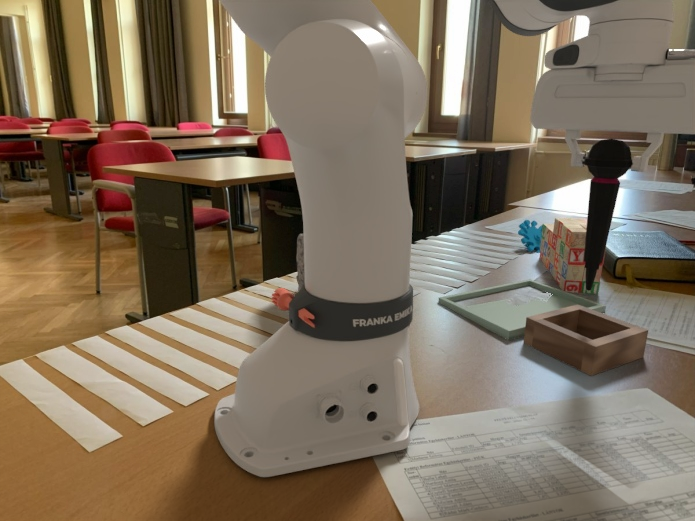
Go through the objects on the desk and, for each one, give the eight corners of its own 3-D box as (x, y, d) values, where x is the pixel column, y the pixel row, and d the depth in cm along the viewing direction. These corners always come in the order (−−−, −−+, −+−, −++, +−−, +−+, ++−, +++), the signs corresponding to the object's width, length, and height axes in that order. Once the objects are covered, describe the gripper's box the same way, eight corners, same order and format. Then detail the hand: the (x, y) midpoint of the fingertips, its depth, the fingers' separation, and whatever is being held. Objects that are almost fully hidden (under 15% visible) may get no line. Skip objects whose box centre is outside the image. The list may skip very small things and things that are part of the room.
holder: (591, 375, 65) (595, 346, 64) (523, 343, 74) (526, 317, 73) (643, 357, 70) (648, 330, 69) (574, 328, 79) (577, 304, 78)
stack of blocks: (537, 263, 115) (544, 209, 111) (567, 265, 114) (574, 210, 111) (562, 296, 94) (571, 230, 91) (598, 297, 94) (609, 231, 90)
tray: (508, 341, 75) (509, 331, 74) (438, 306, 88) (438, 297, 88) (604, 314, 85) (606, 305, 85) (528, 287, 99) (529, 279, 98)
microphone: (619, 291, 69) (646, 139, 64) (595, 299, 66) (620, 140, 61) (582, 280, 74) (604, 137, 68) (557, 287, 71) (578, 137, 65)
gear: (536, 257, 116) (514, 220, 119) (518, 269, 120) (498, 233, 124) (566, 250, 122) (544, 215, 125) (548, 262, 126) (528, 228, 130)
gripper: (734, 49, 58) (708, 174, 61) (549, 58, 70) (537, 161, 74) (729, 43, 53) (701, 178, 57) (532, 54, 65) (520, 164, 69)
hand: (607, 169), depth 65 cm, fingers closed on microphone, 6 cm apart
